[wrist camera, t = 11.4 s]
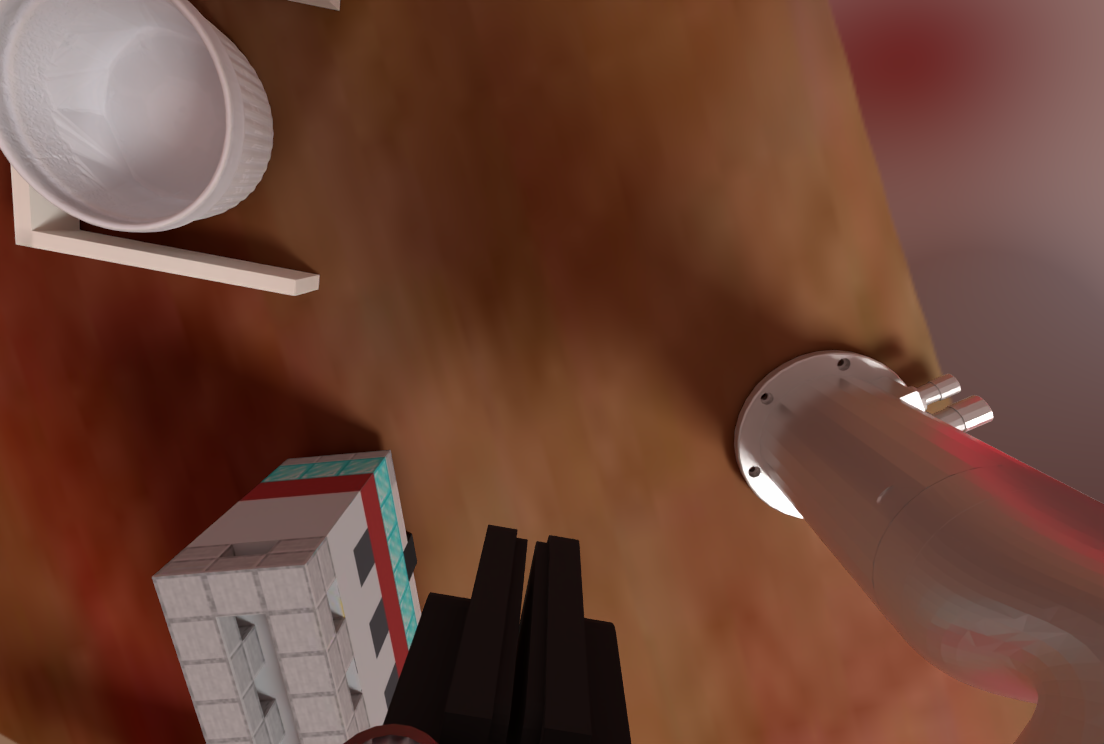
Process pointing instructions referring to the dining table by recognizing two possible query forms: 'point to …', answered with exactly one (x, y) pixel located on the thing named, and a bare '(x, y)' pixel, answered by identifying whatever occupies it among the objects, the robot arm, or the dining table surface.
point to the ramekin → (130, 111)
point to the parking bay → (62, 234)
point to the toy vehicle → (297, 605)
